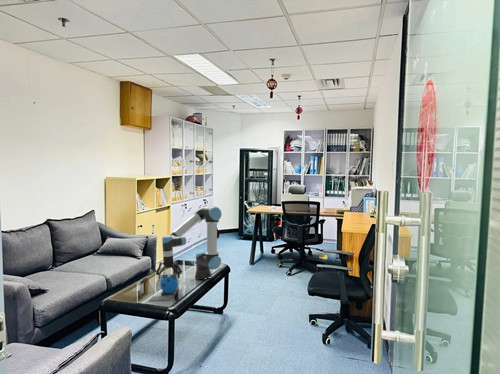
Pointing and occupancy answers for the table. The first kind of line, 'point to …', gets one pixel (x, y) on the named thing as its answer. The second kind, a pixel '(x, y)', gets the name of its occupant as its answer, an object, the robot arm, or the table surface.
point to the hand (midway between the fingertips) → (169, 282)
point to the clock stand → (173, 292)
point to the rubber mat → (161, 298)
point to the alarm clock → (169, 283)
